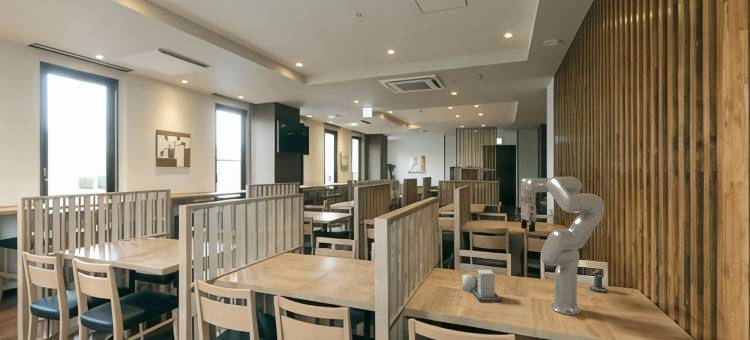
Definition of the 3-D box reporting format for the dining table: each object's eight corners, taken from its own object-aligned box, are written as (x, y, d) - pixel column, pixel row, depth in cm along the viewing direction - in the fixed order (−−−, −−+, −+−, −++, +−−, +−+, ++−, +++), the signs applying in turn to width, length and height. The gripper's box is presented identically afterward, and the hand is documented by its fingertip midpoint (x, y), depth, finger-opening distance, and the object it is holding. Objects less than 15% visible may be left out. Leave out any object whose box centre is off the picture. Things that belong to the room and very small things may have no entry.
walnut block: (483, 287, 207) (483, 279, 207) (475, 288, 205) (475, 280, 205) (477, 285, 212) (477, 276, 212) (470, 286, 210) (470, 277, 210)
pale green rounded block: (476, 292, 200) (476, 277, 200) (464, 292, 200) (464, 277, 200) (473, 287, 207) (473, 273, 207) (461, 287, 207) (461, 274, 207)
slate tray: (500, 301, 186) (500, 298, 186) (479, 302, 185) (479, 298, 185) (491, 292, 200) (491, 288, 200) (471, 292, 199) (471, 289, 199)
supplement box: (491, 292, 196) (491, 269, 196) (494, 297, 189) (494, 273, 189) (477, 292, 197) (477, 269, 196) (480, 297, 189) (480, 273, 189)
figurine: (604, 294, 196) (604, 272, 196) (587, 290, 202) (587, 268, 202) (609, 290, 202) (609, 269, 202) (591, 286, 208) (592, 265, 208)
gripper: (542, 201, 196) (541, 233, 196) (527, 198, 213) (527, 227, 213) (528, 201, 195) (528, 233, 196) (515, 198, 213) (515, 227, 213)
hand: (528, 230), depth 204 cm, fingers open, 9 cm apart
